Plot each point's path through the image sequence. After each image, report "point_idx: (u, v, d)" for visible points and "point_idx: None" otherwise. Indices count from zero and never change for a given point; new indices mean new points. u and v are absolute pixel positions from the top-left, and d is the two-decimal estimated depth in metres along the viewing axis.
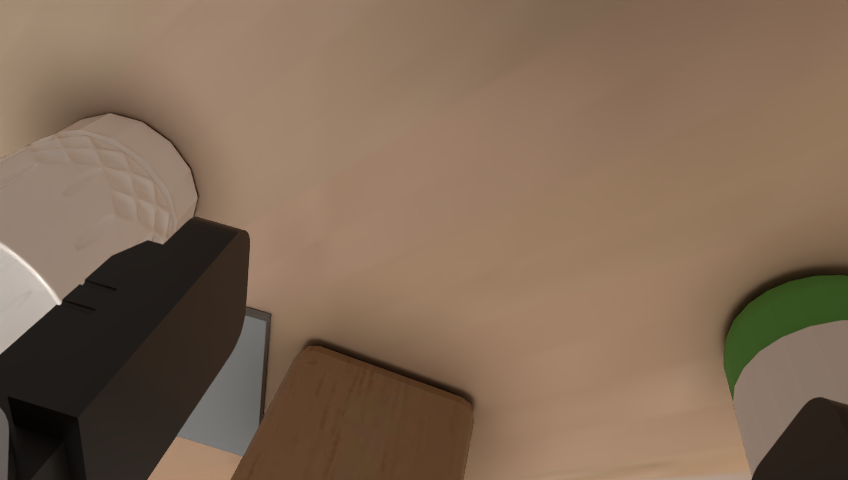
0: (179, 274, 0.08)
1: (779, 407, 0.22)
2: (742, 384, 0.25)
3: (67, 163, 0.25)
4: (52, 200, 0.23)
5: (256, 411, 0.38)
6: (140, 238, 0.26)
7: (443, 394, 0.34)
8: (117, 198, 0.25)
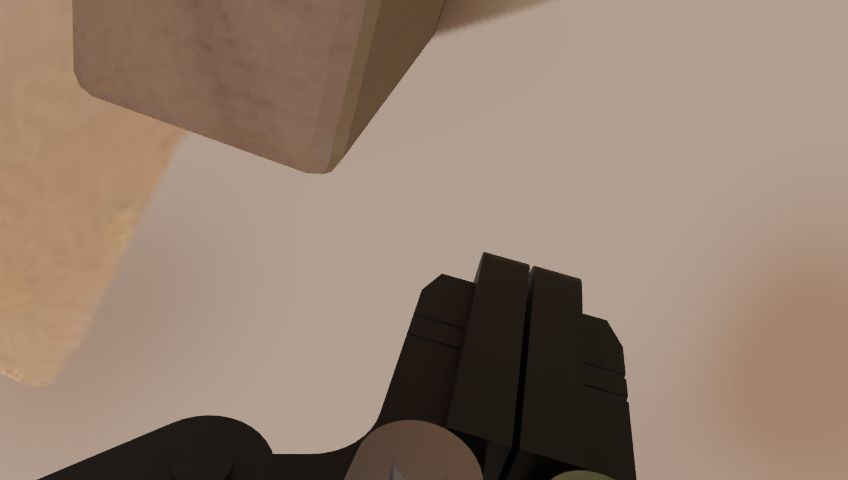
0: (508, 309, 0.08)
1: None
2: None
3: None
4: None
5: None
6: None
7: None
8: None
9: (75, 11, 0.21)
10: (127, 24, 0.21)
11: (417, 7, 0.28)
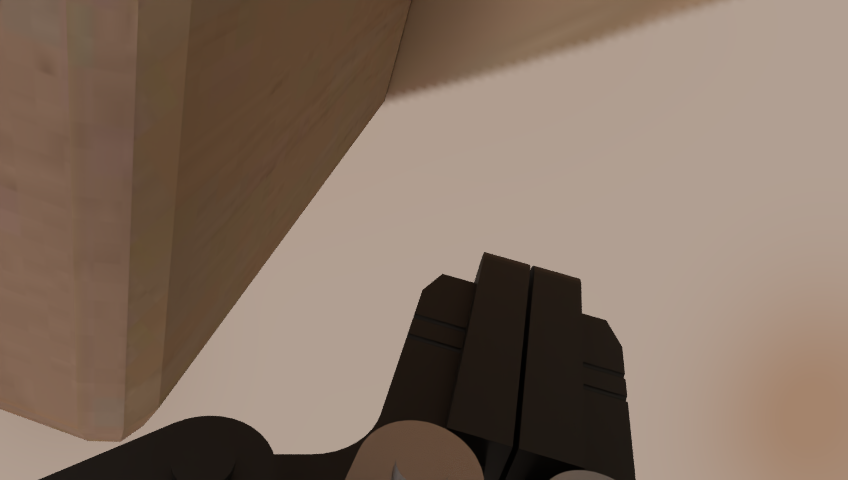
0: (509, 309, 0.08)
1: None
2: None
3: None
4: None
5: None
6: None
7: None
8: None
9: None
10: None
11: (327, 100, 0.17)
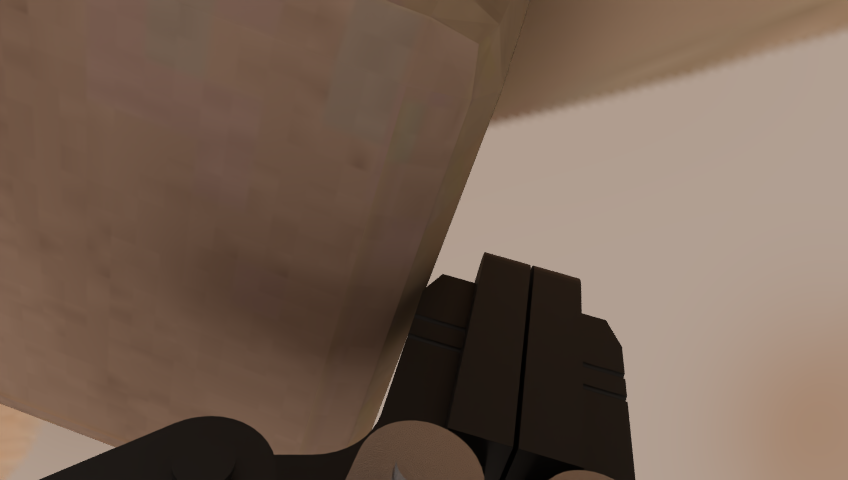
0: (509, 309, 0.08)
1: None
2: None
3: None
4: None
5: None
6: None
7: None
8: None
9: None
10: None
11: None
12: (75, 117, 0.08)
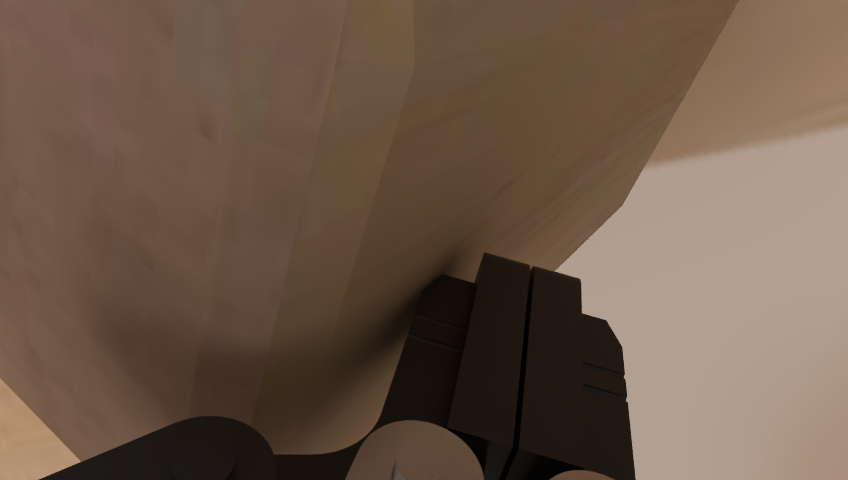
0: (508, 309, 0.08)
1: None
2: None
3: None
4: None
5: None
6: None
7: None
8: None
9: None
10: None
11: (561, 203, 0.14)
12: None
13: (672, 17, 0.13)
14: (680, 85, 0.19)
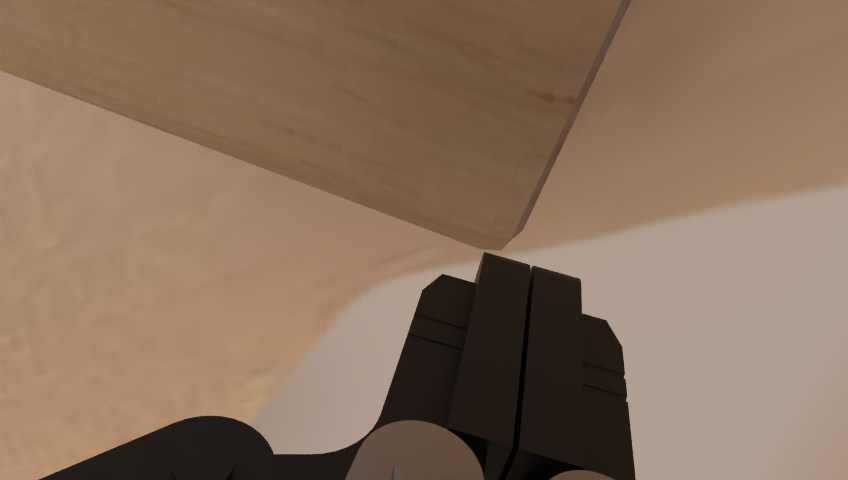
0: (508, 309, 0.08)
1: None
2: None
3: None
4: None
5: None
6: None
7: None
8: None
9: None
10: None
11: None
12: None
13: None
14: (476, 37, 0.16)
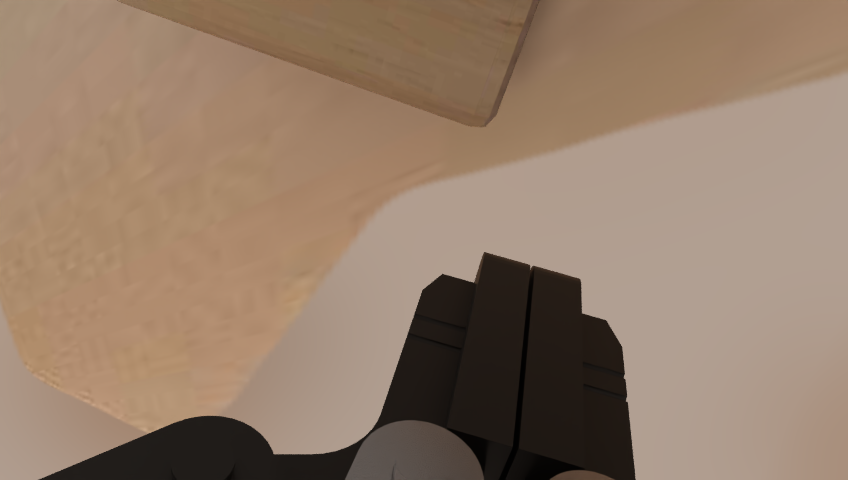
0: (509, 309, 0.08)
1: None
2: None
3: None
4: None
5: None
6: None
7: None
8: None
9: None
10: None
11: None
12: None
13: None
14: None
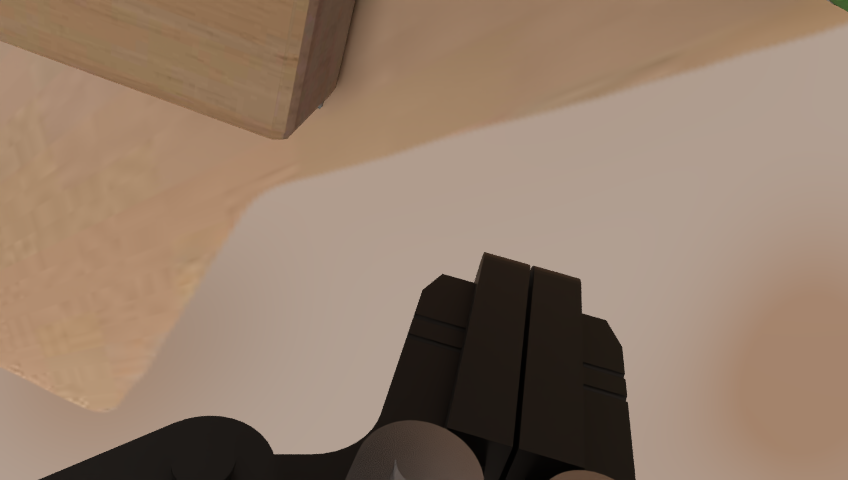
0: (508, 309, 0.08)
1: None
2: None
3: None
4: None
5: None
6: None
7: None
8: None
9: None
10: None
11: (111, 9, 0.35)
12: None
13: None
14: (247, 29, 0.34)
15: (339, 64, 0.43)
